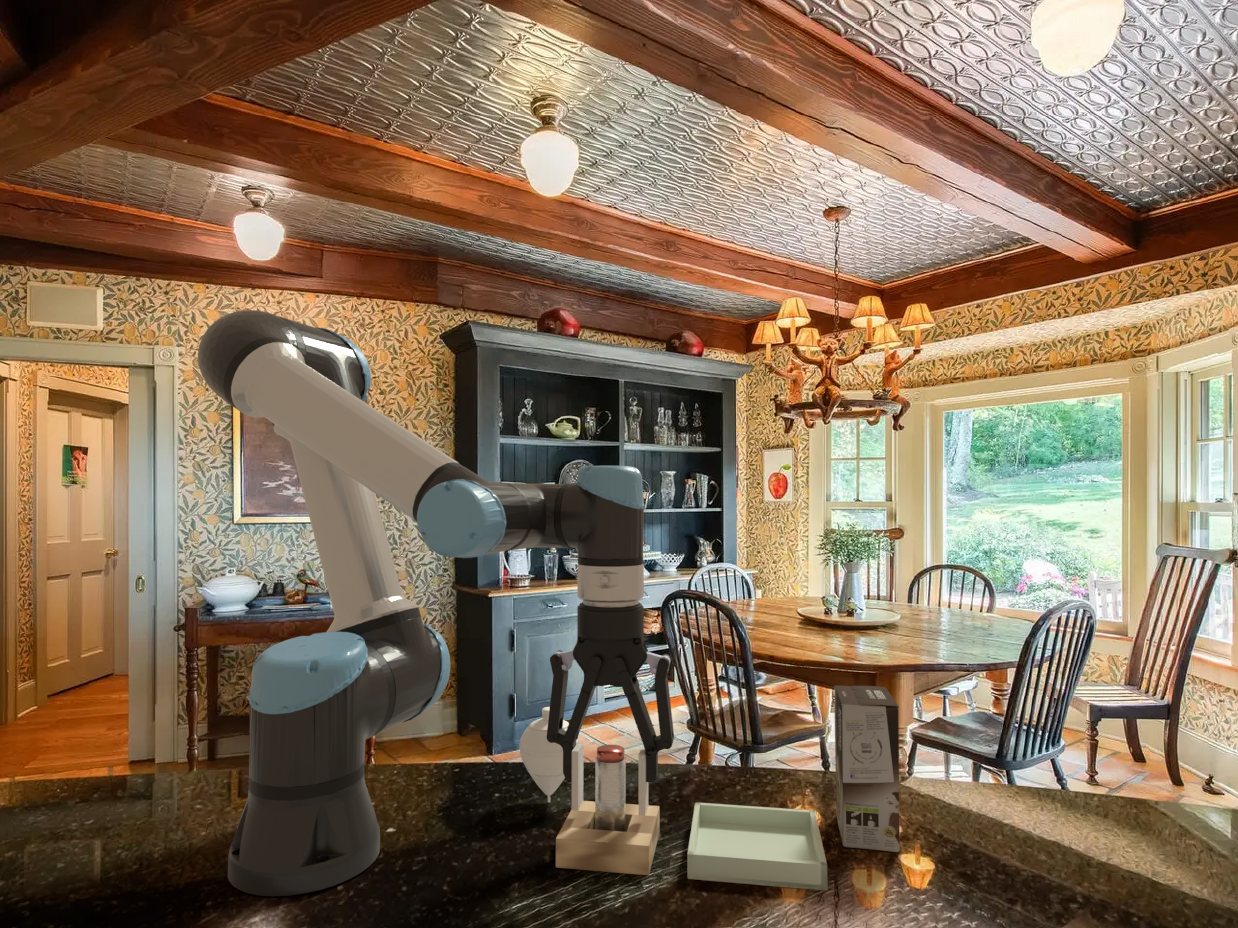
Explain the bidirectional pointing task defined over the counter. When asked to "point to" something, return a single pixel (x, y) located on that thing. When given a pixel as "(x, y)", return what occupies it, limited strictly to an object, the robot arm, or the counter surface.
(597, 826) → the pin
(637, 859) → the block
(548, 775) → the spinning top
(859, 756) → the coffee box
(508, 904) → the counter surface
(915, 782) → the counter surface
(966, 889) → the counter surface
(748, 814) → the tray
